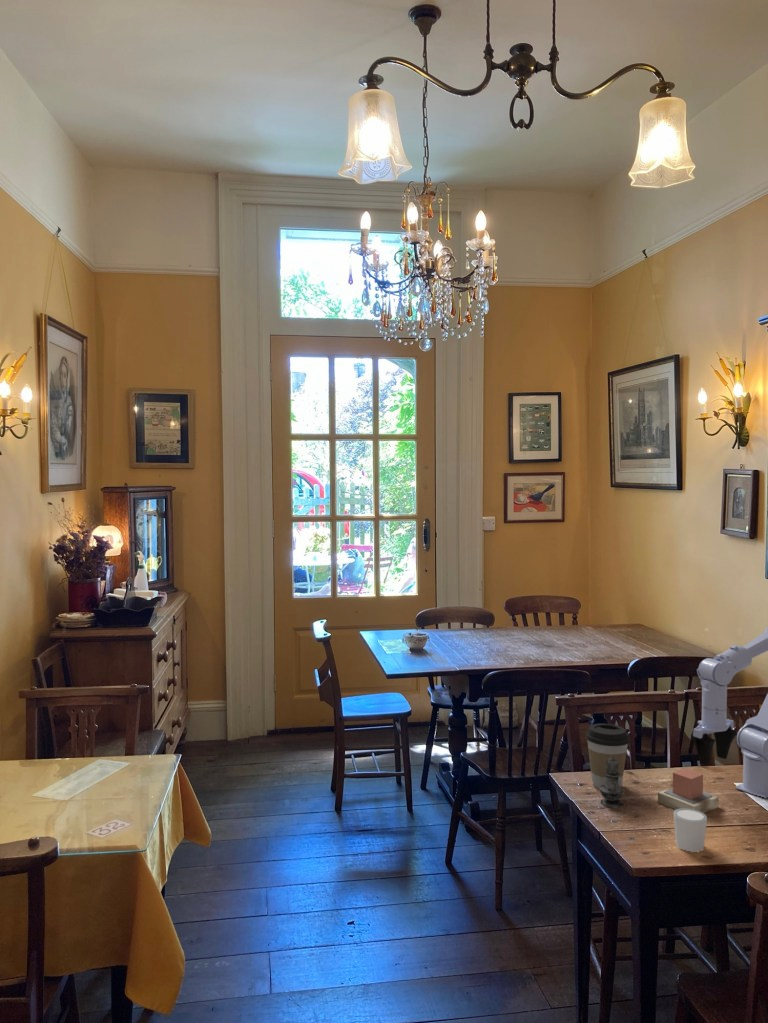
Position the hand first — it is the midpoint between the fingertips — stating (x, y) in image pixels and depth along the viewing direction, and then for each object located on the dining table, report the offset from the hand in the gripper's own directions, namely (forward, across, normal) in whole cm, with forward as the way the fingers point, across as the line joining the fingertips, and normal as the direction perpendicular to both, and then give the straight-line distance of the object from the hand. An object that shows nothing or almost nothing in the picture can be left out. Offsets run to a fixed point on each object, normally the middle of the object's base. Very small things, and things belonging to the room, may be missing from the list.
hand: (713, 760), depth 187 cm
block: (+7, +9, -1) cm, 11 cm away
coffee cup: (+10, +16, -20) cm, 27 cm away
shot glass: (+10, +28, +12) cm, 32 cm away
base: (+9, +9, -1) cm, 13 cm away
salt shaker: (+10, +24, -12) cm, 28 cm away
